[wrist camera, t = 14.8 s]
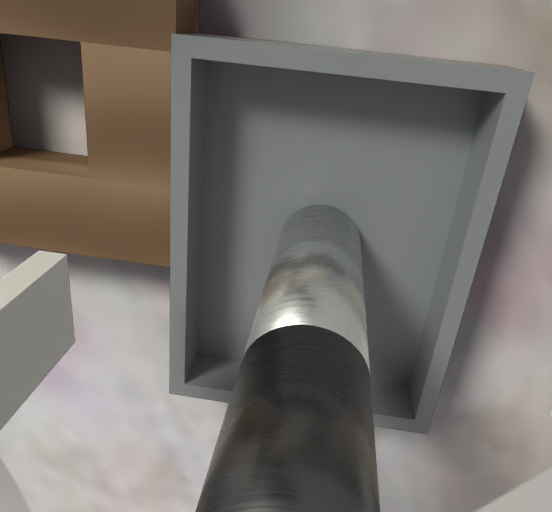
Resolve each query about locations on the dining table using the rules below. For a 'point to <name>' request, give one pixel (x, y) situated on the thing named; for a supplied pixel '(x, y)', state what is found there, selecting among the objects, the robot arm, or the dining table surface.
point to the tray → (332, 197)
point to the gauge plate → (99, 133)
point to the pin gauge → (302, 383)
